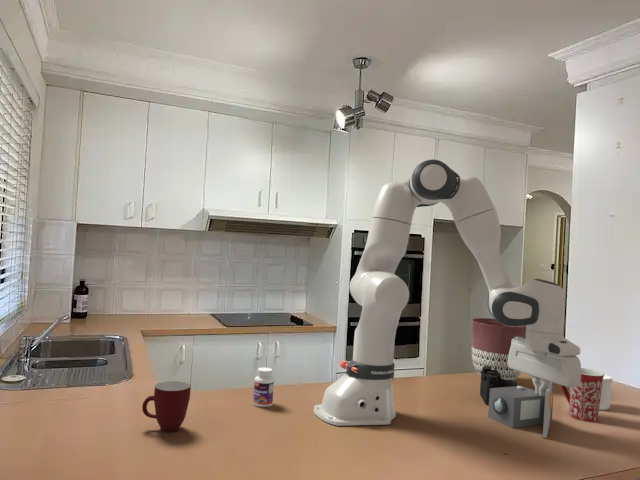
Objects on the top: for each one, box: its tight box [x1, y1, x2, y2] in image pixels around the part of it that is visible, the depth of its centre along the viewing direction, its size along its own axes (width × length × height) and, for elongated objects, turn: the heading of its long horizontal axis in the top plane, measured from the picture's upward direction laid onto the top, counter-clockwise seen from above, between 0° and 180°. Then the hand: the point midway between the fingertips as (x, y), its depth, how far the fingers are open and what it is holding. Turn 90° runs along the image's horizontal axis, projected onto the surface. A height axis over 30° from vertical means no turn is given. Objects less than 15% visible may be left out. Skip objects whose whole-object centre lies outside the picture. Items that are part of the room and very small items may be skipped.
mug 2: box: [560, 367, 605, 423], centre depth 150 cm, size 13×9×14 cm
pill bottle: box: [252, 367, 275, 408], centre depth 141 cm, size 5×5×10 cm
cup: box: [599, 374, 613, 411], centre depth 161 cm, size 10×10×10 cm
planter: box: [471, 317, 526, 381], centre depth 184 cm, size 20×20×21 cm
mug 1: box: [141, 380, 191, 433], centre depth 119 cm, size 11×8×10 cm
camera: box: [479, 366, 518, 407], centre depth 160 cm, size 14×11×10 cm
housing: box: [487, 385, 545, 429], centre depth 141 cm, size 13×9×9 cm
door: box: [542, 382, 555, 439], centre depth 134 cm, size 13×2×12 cm, turn 152°
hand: (540, 394), depth 133 cm, fingers closed
